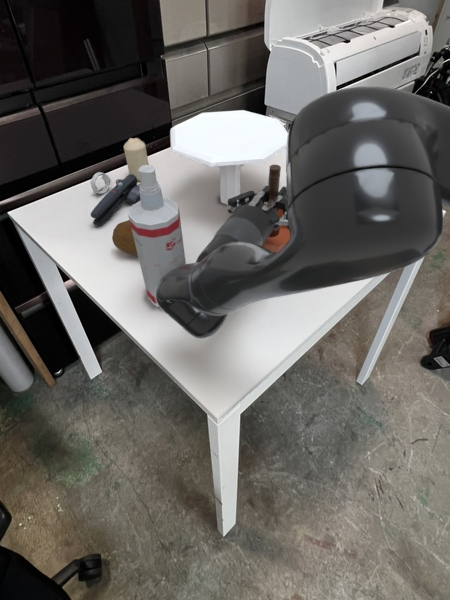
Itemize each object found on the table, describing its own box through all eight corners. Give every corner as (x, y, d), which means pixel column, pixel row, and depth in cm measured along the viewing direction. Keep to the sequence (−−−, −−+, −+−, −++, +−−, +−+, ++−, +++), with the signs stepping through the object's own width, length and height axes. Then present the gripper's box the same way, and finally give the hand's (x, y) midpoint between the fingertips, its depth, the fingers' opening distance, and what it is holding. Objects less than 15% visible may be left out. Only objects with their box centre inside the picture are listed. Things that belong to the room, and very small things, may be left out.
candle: (136, 183, 99) (128, 146, 92) (126, 175, 102) (118, 139, 95) (154, 176, 101) (148, 140, 94) (144, 169, 104) (137, 133, 97)
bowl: (314, 233, 82) (319, 210, 78) (305, 275, 73) (310, 251, 69) (252, 224, 85) (253, 200, 81) (236, 263, 76) (236, 239, 72)
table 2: (195, 167, 105) (190, 103, 93) (294, 178, 99) (302, 112, 87) (156, 222, 86) (143, 152, 74) (275, 240, 81) (282, 168, 69)
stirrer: (281, 227, 78) (288, 163, 67) (277, 238, 75) (284, 173, 65) (262, 224, 78) (266, 160, 68) (258, 235, 76) (261, 170, 66)
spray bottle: (151, 279, 73) (124, 156, 55) (189, 278, 73) (175, 155, 55) (146, 309, 67) (114, 183, 49) (187, 308, 67) (170, 181, 49)
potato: (116, 241, 82) (107, 211, 76) (172, 235, 83) (168, 204, 77) (115, 265, 76) (105, 234, 71) (175, 258, 77) (171, 227, 72)
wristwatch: (113, 188, 97) (108, 171, 94) (99, 197, 94) (94, 179, 91) (105, 186, 98) (100, 168, 95) (91, 195, 95) (86, 176, 92)
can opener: (130, 188, 97) (125, 168, 93) (151, 194, 95) (148, 174, 91) (83, 223, 87) (75, 202, 83) (106, 231, 84) (99, 210, 80)
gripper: (282, 229, 57) (315, 179, 68) (203, 209, 62) (246, 164, 72) (278, 266, 63) (309, 214, 73) (206, 245, 67) (245, 198, 78)
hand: (278, 189), depth 73 cm, fingers closed on stirrer, 2 cm apart
